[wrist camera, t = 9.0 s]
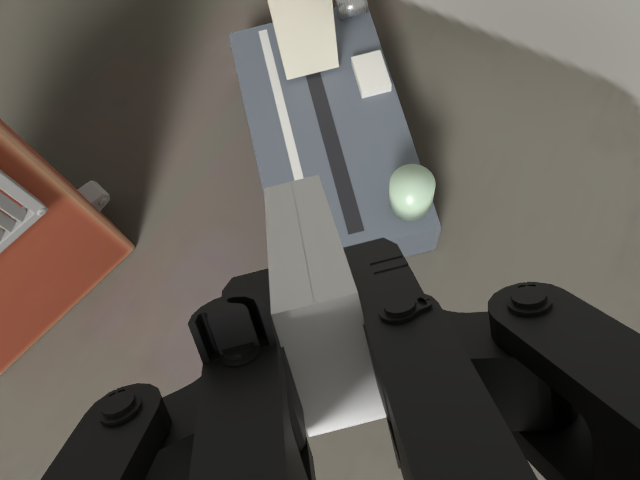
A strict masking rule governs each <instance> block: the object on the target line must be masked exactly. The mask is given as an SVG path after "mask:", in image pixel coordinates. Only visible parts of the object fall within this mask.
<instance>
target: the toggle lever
mask: <svg viewBox="0 0 640 480" xmlns="http://www.w3.org/2000/svg"><path fill="white" fill-rule="evenodd" d="M335 3H336V9H337V13H338V17H339V19H340V20H341V19H345V18H349V17H353V16H357V15H361V14H365V13H368V11H369V9H368V2H367V0H335Z"/></svg>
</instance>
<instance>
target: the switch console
mask: <svg viewBox="0 0 640 480" xmlns="http://www.w3.org/2000/svg"><path fill="white" fill-rule="evenodd" d="M368 9H369V8H368ZM333 13H334V23H335V33H336V43H337V53H338V62H339V67H337V68H333V69H329V70H325V71H321V72H318V73H314V74H310V75H306V76H302V77H298V78H294V79H290V80H287V78H286V74H285V70H284V66H283V63H282V59H281V55H280V51H279V47H278V42H277V38H276V34H275V30H274V26H273V22H272V23H268V24H264V25H260V26H256V27H252V28H249V29H245V30H241V31H237V32H233V33H229V38H230V43H231V48H232V52H233V57H234V61H235V66H236V70H237V75H238V80H239V84H240V89H241V93H242V98H243V102H244V107H245V111H246V116H247V121H248V125H249V130H250V134H251V139H252V143H253V148H254V152H255V157H256V162H257V166H258V171H259V175H260V180H261V184H262V189H263V194H264V188H268V187H272V186H276V185H280V184H284V183H288V182H292V181H296V180H299V179H303V178H307V177H311V176H315V175H319V177H320V180H321V183H322V186H323V189H324V192H325V195H326V198H327V201H328V204H329V207H330V210H331V213H332V216H333V219H334V222H335V225H336V228H337V231H338V234H339V237H340V240H341V243H342V246H343V248H344V247H348V246H352V245H355V244H359V243H363V242H367V241H371V240H375V239H379V238H383V237H384V238H386V239H388V240H390V241H392V242H394V243H396V244H398V246H399V248H400V250H401V252H402V254H403V256H404V257H408V256H412V255H416V254H420V253H424V252H428V251H432V250H436V246H437V243H438V239H439V235H440V231H441V225H440V222H439V219H438V216H437V213H436V210H435V207H434V204H433V201H432V206H431V209H430V211H429V213H428V214H427V215H426V216H425V217H423V218H422V219H419V220H416V221H405V220H402V219H400V218H398V217H397V216H395V215H394V214H393V212H392V211H391V209H390V206H389V184H390V178H391V176H392V174H393V173H394V171H395V170H397V169H398V168H399V167H401V166H403V165H406V164H418V165H421V164H420V161H419V158H418V155H417V152H416V149H415V146H414V143H413V140H412V137H411V134H410V131H409V128H408V125H407V122H406V119H405V116H404V113H403V110H402V107H401V104H400V101H399V98H398V95H397V92H396V89H395V86H394V83H393V80H392V77H391V74H390V71H389V68H388V65H387V62H386V59H385V56H384V53H383V50H382V47H381V44H380V41H379V38H378V35H377V32H376V29H375V26H374V23H373V20H372V17H371V14H370V11H368V13H365V14H361V15H357V16H353V17H349V18H345V19H341V20H340V19H339V17H338V13H337V9H336V6H335V7H333ZM264 198H265V196H264Z"/></svg>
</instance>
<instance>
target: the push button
mask: <svg viewBox="0 0 640 480" xmlns="http://www.w3.org/2000/svg"><path fill="white" fill-rule="evenodd" d="M434 191H435V179H434V176H433V174H432V173H431V172H430V171H429V170H428V169H427V168H425V167H424V166H421V165H418V164H406V165H403V166H401V167H399V168H398V169H397V170H395V171H394V173H393V174H392V176H391V178H390V184H389V206H390V209H391V211H392V212H393V214H394V215H395V216H397V217H398V218H400V219H402V220H405V221H416V220H419V219H422V218H423V217H425V216H426V215H427V214H428V213H429V211H430V209H431V206H432V201H433V196H434Z"/></svg>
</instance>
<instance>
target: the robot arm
mask: <svg viewBox="0 0 640 480" xmlns="http://www.w3.org/2000/svg"><path fill="white" fill-rule="evenodd" d="M264 196H265V215H266V233H267V251H268V269H264V270H260V271H256V272H253V273H249V274H245V275H241V276H237V277H233V278H232V279H231V280H230V281H229V283H228V284H227V285H226V287H225V288H224V289H223V291H222V297H220V298H217V299H214V300H212V301H211V302H209V303H207V304H205V305H204V306H202V307H200V308H199V309H198V310H197V311H196V312H195V313H194V314H193V315H192V316H191V318H190V320H189V322H188V326H189V328H190V331H191V333H192V336H193V339H194V341H195V344H196V346H197V349H198V352H199V354H200V357H201V360H202V362H203V367H202V375H201V377H200V378H198V379H197V380H196V381H194V382H193V383H191V384H189V385H188V386H186V387H184V388H182V389H180V390H178V391H176V392H174V393H171V394H169V395H167V396H165V397H163V398H162V396H161V394H160V391H159V389H158V388H157V387H155V386H153V385H151V384H140V383H137V384H133V385H128V386H124V387H121V388H118V389H117V390H113V391H112V392H110V393H108V394H107V395H105V396H104V397H103V398H101V399H100V400H98V401H97V402H95V403H94V404H93V406H92V407H91V408H90V409H89V410H88V411H87V412H86V413H85V415H84V416H83V418H82V419H81V421H80V422H79V424H78V425H77V426H76V428H75V429H74V431H73V432H72V434H71V435H70V437H69V438H68V440H67V441H66V443H65V444H64V446H63V447H62V449H61V450H60V452H59V453H58V455H57V456H56V458H55V459H54V461H53V462H52V464H51V465H50V466H49V468H48V469H47V471H46V472H45V474H44V475H43V477H42V478H41V480H316V478H315V470H314V463H313V456H312V453H311V450H310V447H309V444H308V440H307V437H306V430H305V426H306V429H307V432H308V435H309V437H311V436H315V435H319V434H323V433H327V432H331V431H335V430H339V429H343V428H346V427H350V426H354V425H358V424H362V423H366V422H370V421H374V420H378V419H382V418H386V417H387V422H388V426H389V430H390V434H391V438H392V443H393V447H394V451H395V455H396V460H397V464H398V468H401V472H402V475H403V479H404V480H538V479H537V477H536V476H535V474H534V472H533V470H532V468H531V467H530V465H529V463H528V461H529V462H530V463H531V464H532V465H533V466H534V468H535V469H536V470H537V471H538V472H539V473H540V474H541V475H542V476H543V477H544V478H545V479H546V480H640V334H639V333H637V332H636V331H634V330H632V329H631V328H629V327H627V326H626V325H624V324H622V323H620V322H619V321H617V320H615V319H614V318H612V317H610V316H608V315H607V314H605V313H603V312H602V311H600V310H598V309H597V308H595V307H593V306H591V305H590V304H588V303H586V302H585V301H583V300H581V299H580V298H578V297H576V296H574V295H573V294H571V293H569V292H568V291H566V290H564V289H562V288H559V287H557V286H554V285H552V284H546V283H538V282H527V283H525V282H524V283H518V284H515V285H511V286H508V287H505V288H503V289H501V290H499V291H498V292H496V293H494V294H493V296H492V297H491V298H490V300H489V301H488V312H475V313H457V312H451V311H446V310H443V309H442V308H441V306H440V305H439V303H438V302H437V301H436V300H435V299H434V298H433V297H432V296H429V295H426V294H424V293H423V291H422V289H421V287H420V285H419V283H418V281H417V280H416V278H415V276H414V274H413V272H412V270H411V268H410V267H409V266H408V263H407V261H406V259H405V257H404V256H403V254H402V252H401V250H400V248H399V246H398V244H396V243H394V242H392V241H390V240H388V239H386V238H384V237H383V238H379V239H375V240H371V241H367V242H363V243H359V244H355V245H352V246H348V247H344V248H343V246H342V243H341V240H340V237H339V234H338V231H337V228H336V225H335V222H334V219H333V216H332V213H331V210H330V207H329V204H328V201H327V198H326V195H325V192H324V189H323V186H322V183H321V180H320V177H319V175H315V176H311V177H307V178H303V179H299V180H296V181H292V182H288V183H284V184H280V185H276V186H272V187H268V188H264ZM526 459H527V460H528V461H527V460H526Z"/></svg>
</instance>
